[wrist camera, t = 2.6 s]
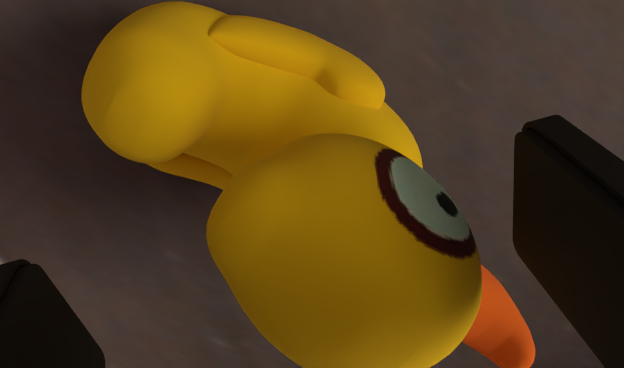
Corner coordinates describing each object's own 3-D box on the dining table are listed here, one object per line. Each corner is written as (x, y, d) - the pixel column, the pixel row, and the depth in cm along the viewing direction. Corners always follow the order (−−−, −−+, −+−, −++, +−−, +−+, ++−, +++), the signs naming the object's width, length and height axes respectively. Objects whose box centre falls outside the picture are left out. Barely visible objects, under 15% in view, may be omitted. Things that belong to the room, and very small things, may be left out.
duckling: (464, 119, 18) (671, 338, 9) (374, 224, 20) (476, 481, 11) (172, -79, 13) (59, -2, 5) (95, 83, 15) (-79, 335, 7)
